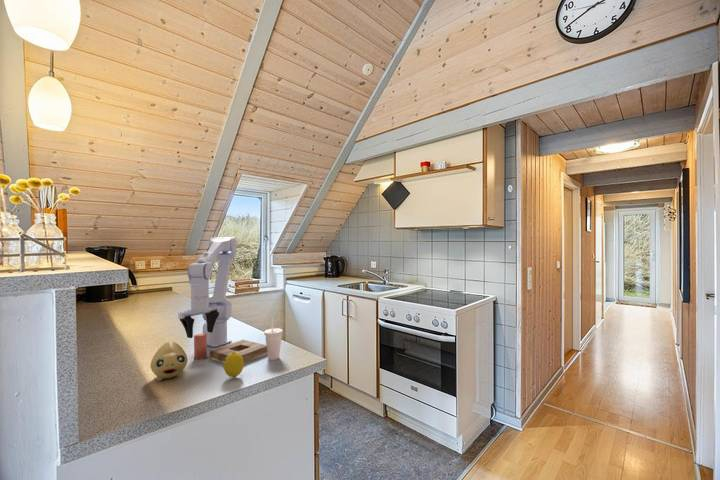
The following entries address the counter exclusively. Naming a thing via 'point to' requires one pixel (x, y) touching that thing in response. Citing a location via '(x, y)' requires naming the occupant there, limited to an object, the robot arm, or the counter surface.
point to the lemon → (233, 364)
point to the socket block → (239, 351)
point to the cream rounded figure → (169, 361)
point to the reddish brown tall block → (200, 346)
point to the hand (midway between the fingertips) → (200, 334)
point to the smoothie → (273, 342)
